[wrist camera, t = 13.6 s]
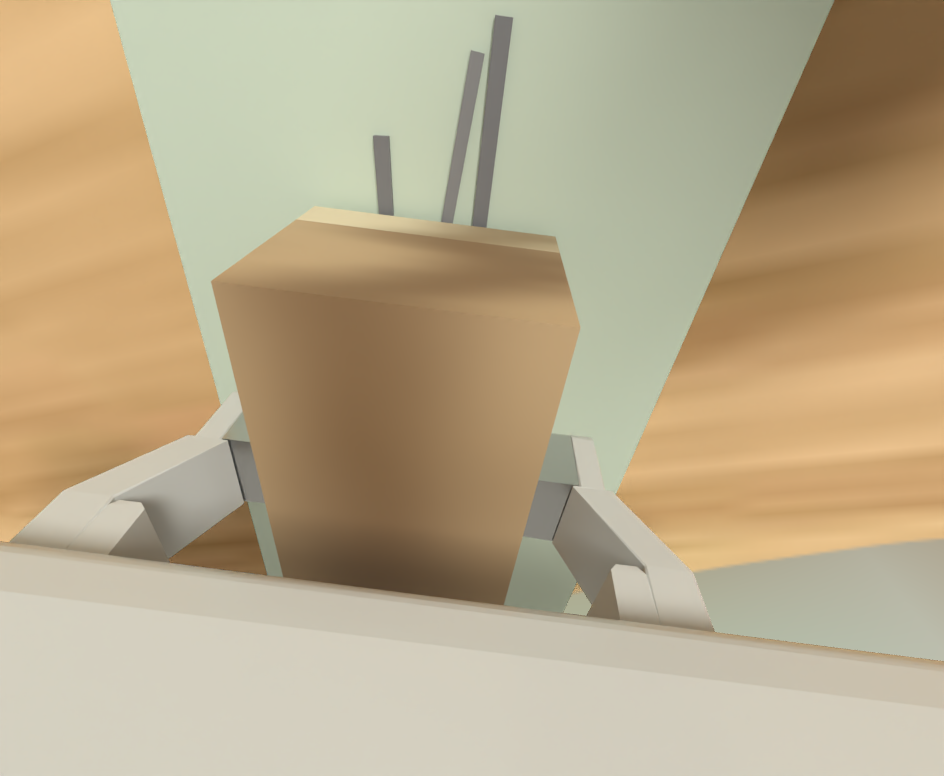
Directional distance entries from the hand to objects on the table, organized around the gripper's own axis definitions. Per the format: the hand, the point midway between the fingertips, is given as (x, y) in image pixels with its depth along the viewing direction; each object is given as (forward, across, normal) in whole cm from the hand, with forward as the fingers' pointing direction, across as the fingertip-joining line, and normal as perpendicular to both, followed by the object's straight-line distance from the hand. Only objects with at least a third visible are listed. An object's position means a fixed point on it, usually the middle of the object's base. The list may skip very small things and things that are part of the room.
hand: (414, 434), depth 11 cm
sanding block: (+2, 0, 0) cm, 2 cm away
